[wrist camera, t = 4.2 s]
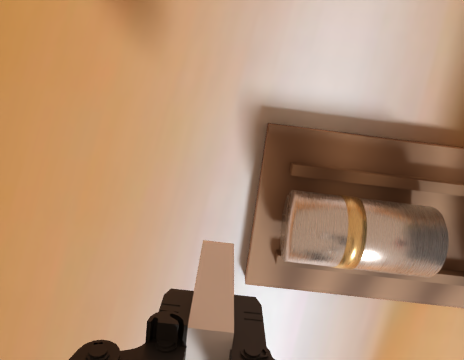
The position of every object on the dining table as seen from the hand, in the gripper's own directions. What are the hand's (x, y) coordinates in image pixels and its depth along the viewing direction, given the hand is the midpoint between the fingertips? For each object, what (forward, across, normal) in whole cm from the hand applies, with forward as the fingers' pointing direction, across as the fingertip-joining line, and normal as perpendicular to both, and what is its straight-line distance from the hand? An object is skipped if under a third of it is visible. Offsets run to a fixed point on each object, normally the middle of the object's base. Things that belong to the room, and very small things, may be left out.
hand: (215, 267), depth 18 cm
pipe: (+10, +10, 0) cm, 14 cm away
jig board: (+12, +19, 0) cm, 22 cm away
